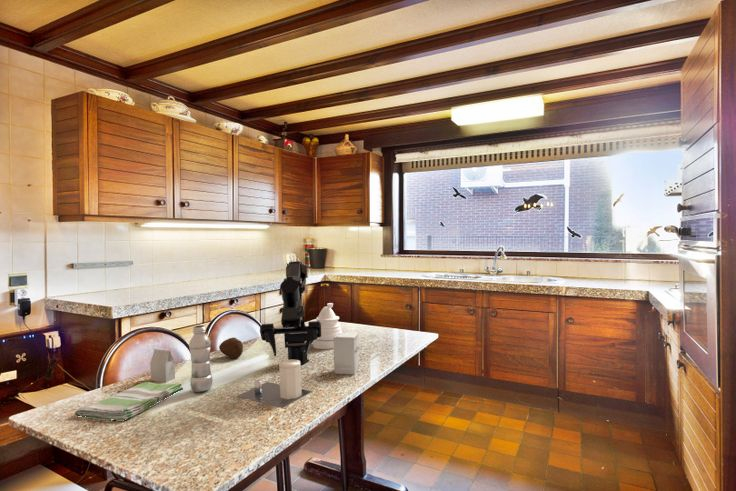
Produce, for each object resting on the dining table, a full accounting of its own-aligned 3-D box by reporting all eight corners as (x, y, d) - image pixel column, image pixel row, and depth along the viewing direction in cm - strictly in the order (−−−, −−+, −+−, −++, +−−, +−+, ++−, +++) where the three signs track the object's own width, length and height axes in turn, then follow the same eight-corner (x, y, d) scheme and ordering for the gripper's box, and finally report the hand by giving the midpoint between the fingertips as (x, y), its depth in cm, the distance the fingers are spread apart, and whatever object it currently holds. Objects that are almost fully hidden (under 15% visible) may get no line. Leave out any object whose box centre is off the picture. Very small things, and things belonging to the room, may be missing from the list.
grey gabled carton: (166, 382, 136) (165, 352, 135) (151, 380, 138) (149, 350, 138) (175, 378, 139) (173, 349, 139) (160, 376, 142) (158, 347, 141)
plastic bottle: (191, 396, 123) (188, 330, 122) (189, 389, 129) (187, 325, 128) (214, 392, 126) (211, 327, 125) (211, 385, 132) (209, 323, 131)
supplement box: (354, 374, 138) (353, 337, 137) (333, 374, 139) (332, 337, 139) (359, 367, 145) (358, 332, 145) (339, 367, 146) (338, 331, 146)
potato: (236, 361, 157) (236, 340, 157) (215, 359, 160) (214, 339, 160) (248, 355, 164) (247, 336, 163) (228, 354, 167) (227, 334, 167)
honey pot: (348, 343, 179) (347, 302, 178) (330, 350, 168) (329, 306, 167) (325, 339, 186) (324, 300, 185) (306, 346, 175) (305, 304, 174)
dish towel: (72, 419, 110) (71, 406, 110) (138, 387, 133) (138, 377, 133) (125, 424, 106) (124, 411, 106) (184, 391, 129) (184, 380, 129)
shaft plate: (235, 399, 120) (235, 384, 120) (267, 384, 131) (267, 371, 131) (282, 410, 111) (282, 395, 111) (312, 393, 122) (312, 379, 122)
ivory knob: (276, 396, 119) (274, 364, 118) (289, 389, 124) (288, 358, 123) (292, 400, 116) (291, 367, 115) (305, 393, 121) (304, 361, 120)
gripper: (259, 298, 127) (255, 342, 117) (320, 295, 130) (321, 338, 119) (263, 318, 135) (260, 361, 124) (320, 315, 138) (322, 357, 127)
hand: (290, 354), depth 123 cm, fingers open, 9 cm apart
